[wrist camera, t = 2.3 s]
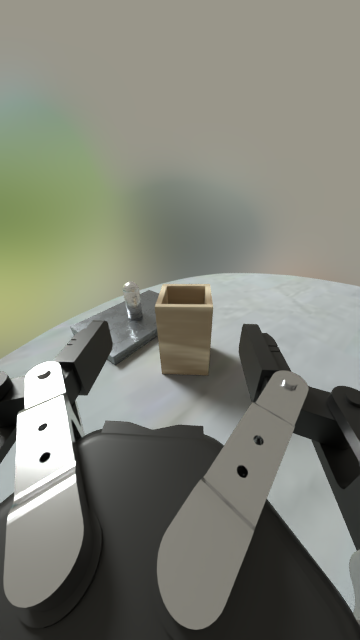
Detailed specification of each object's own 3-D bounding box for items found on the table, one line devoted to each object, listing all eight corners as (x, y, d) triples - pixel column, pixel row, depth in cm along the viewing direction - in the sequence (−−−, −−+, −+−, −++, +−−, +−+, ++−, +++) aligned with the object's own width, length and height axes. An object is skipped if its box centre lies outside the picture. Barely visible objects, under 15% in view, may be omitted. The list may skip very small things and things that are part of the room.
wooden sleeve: (167, 344, 31) (162, 284, 26) (206, 345, 31) (209, 284, 25) (162, 373, 26) (154, 306, 21) (208, 375, 26) (213, 307, 20)
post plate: (149, 296, 46) (145, 262, 42) (192, 311, 39) (192, 273, 35) (73, 333, 34) (56, 292, 30) (115, 365, 28) (101, 317, 24)
